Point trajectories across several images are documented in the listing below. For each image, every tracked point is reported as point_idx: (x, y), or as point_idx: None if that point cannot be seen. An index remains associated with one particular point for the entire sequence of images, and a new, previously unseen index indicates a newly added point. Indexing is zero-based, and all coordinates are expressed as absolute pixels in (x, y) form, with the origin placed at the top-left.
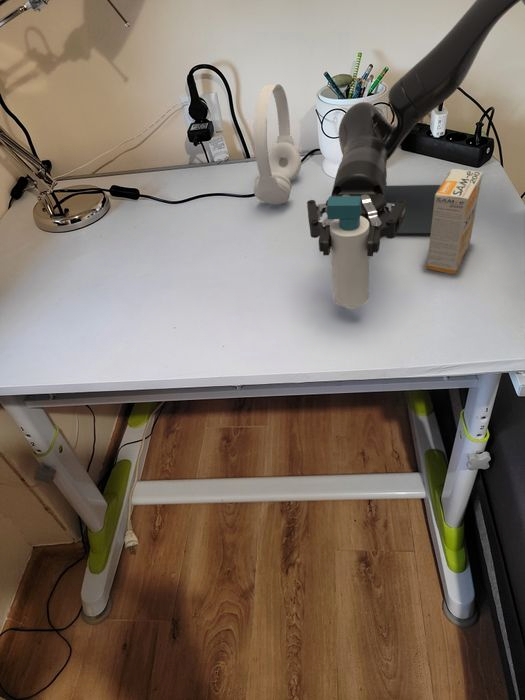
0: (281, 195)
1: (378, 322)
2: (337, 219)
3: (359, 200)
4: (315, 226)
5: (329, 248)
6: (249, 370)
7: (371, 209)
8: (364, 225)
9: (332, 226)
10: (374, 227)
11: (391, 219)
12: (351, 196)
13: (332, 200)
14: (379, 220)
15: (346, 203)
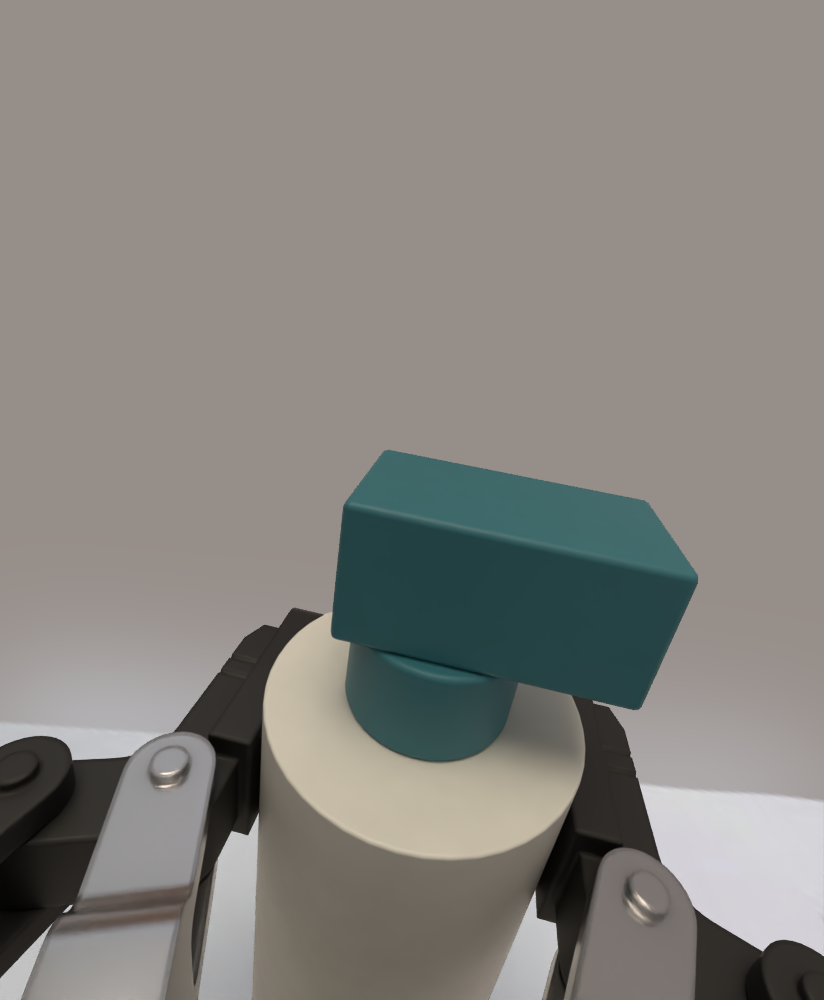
0: None
1: (236, 973)
2: (538, 798)
3: (375, 469)
4: (748, 947)
5: None
6: (667, 793)
7: (90, 990)
8: (314, 658)
9: (559, 708)
10: (216, 728)
11: (16, 759)
12: (445, 522)
13: (628, 523)
14: (121, 797)
15: (487, 477)
